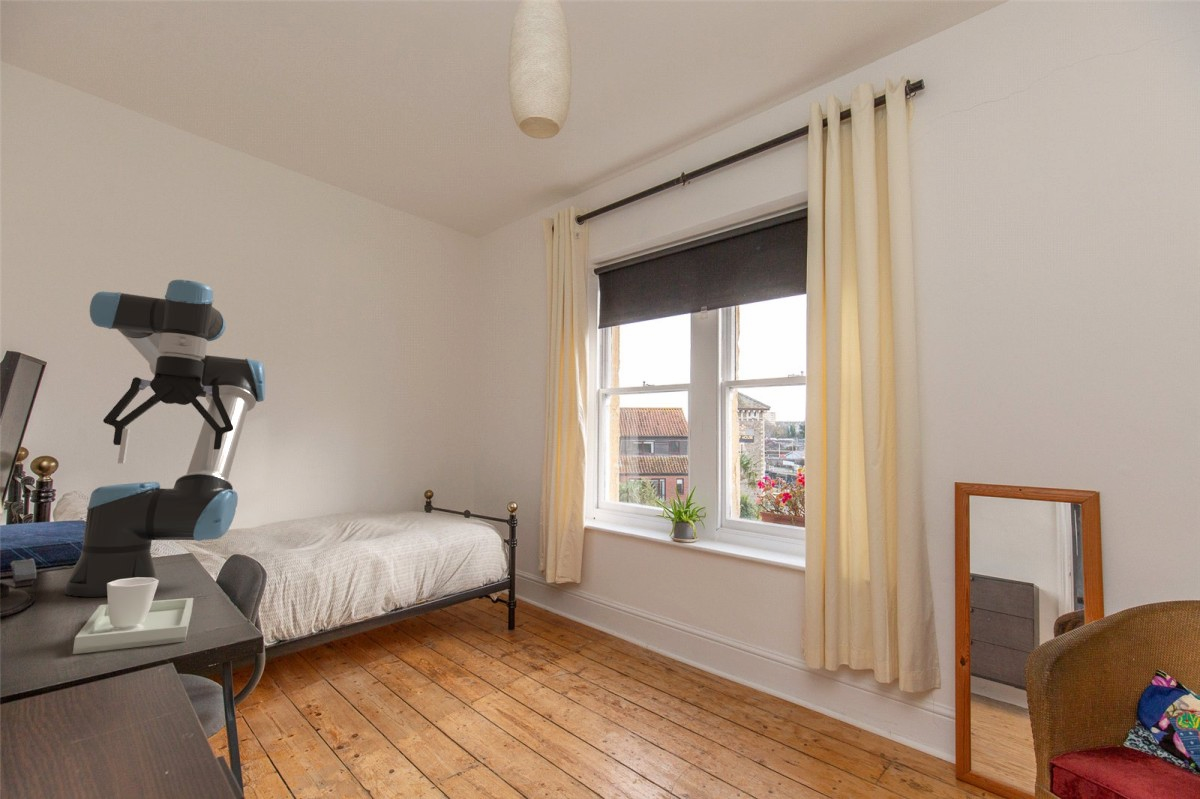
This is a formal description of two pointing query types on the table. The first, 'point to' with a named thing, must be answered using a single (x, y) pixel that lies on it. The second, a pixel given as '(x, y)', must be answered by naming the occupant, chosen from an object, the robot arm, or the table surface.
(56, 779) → the table surface
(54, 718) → the table surface
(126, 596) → the cup
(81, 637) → the tray
